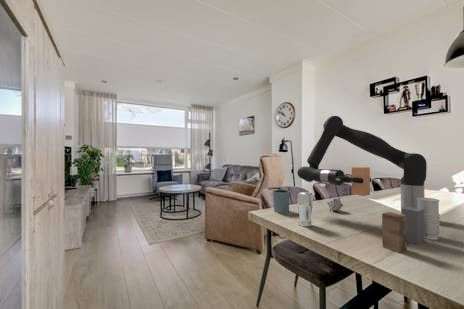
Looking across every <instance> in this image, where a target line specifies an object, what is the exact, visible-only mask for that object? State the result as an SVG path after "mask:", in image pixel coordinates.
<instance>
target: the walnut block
mask: <svg viewBox="0 0 464 309" xmlns="http://www.w3.org/2000/svg"><path fill="white" fill-rule="evenodd" d="M381 217H382V218H381V219H382V220H381V222H382V224H381V225H382V226H381V227H382V228H381V233H382V235H381V236H382V237H381V238H382V244H381V245H382V248H384V249H386V250H389V251H392V252H396V253H399V254H400V253H402V252H404V251H406V250H407V241H406V215H403V214H401V213H398V212H393V211H387V212H382V214H381Z"/></svg>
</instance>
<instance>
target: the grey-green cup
mask: <svg viewBox="0 0 464 309" xmlns="http://www.w3.org/2000/svg"><path fill="white" fill-rule="evenodd" d="M290 195H291V190H287V189H286V190H285V189H274V190H273V189H272V202H273V211H274V213H276V212H278V213H277V214H288V213H289V212H290V197H291V196H290ZM287 212H288V213H287Z"/></svg>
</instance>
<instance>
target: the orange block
mask: <svg viewBox="0 0 464 309" xmlns="http://www.w3.org/2000/svg"><path fill="white" fill-rule="evenodd" d="M351 175H352V177H355V178H363V180H364V182H363V183H351V195H354V196H355V195H356V196H360V197H366V196H370V195H371V194H370V193H371V182H370V178H371V169H370V167H369V166H368V167H367V166H365V167H364V166H352V167H351Z"/></svg>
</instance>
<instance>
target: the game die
mask: <svg viewBox="0 0 464 309" xmlns="http://www.w3.org/2000/svg"><path fill="white" fill-rule="evenodd" d="M327 205H328V207H329V212H331V211H336V212H339V213H340V212H341V211H340V210H341V209H342V207H344V205H343V203H342V201H341V197H339V198H338V197H336V198H335V197H331V196H330V198H329V200H328V202H327Z"/></svg>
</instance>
